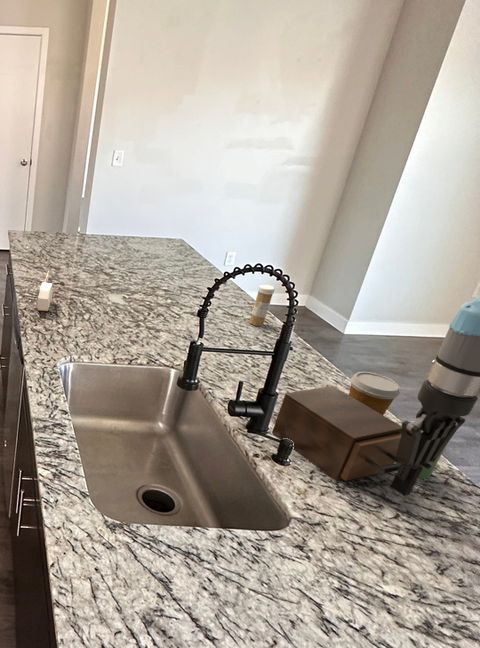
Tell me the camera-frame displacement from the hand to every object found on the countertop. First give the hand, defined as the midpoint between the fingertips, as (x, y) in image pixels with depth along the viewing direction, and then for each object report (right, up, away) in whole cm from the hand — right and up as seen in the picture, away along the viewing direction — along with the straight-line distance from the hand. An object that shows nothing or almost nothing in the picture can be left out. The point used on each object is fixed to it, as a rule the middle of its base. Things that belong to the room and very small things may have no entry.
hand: (399, 490), depth 105 cm
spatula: (-56, +46, +79) cm, 107 cm away
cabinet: (-5, +5, +14) cm, 16 cm away
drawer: (-3, +4, +11) cm, 12 cm away
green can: (+11, +2, +10) cm, 14 cm away
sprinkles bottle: (+13, +33, +76) cm, 84 cm away
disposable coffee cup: (+10, +9, +24) cm, 28 cm away
